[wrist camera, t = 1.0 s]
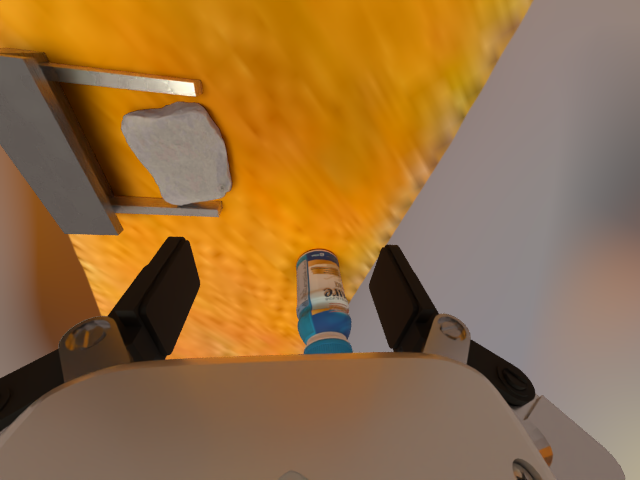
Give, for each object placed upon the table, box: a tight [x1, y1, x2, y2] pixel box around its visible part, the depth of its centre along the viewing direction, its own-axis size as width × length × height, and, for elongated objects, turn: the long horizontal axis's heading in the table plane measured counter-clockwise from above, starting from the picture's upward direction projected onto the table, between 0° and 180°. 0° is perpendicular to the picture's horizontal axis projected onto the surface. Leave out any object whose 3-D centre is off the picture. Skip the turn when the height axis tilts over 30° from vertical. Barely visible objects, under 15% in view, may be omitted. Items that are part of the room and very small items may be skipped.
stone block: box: [121, 102, 232, 205], centre depth 30 cm, size 12×5×10 cm
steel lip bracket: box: [0, 48, 223, 235], centre depth 27 cm, size 18×18×6 cm
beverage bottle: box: [296, 250, 353, 354], centre depth 38 cm, size 8×8×20 cm
